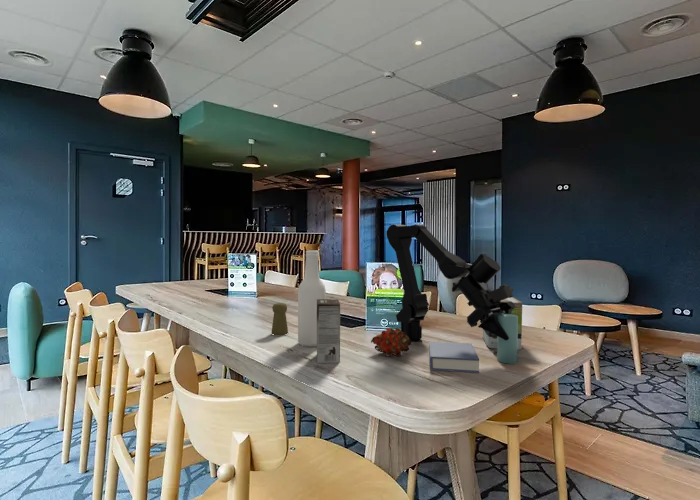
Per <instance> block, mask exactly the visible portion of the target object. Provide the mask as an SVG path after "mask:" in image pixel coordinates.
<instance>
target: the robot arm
mask: <svg viewBox="0 0 700 500" xmlns="http://www.w3.org/2000/svg"><path fill="white" fill-rule="evenodd" d="M385 235H386V238H387V240H388V241H387V242H388V243H389V245H390V247H391V248H392V249H393V250H394V252H395V256H396V261H397V265H398V269H399V274H400V279H401V284H402V288H403V295H402V299H401V307H402V308H401V309H400V310H399V311H398V312H397V314H396V315H395V317H396V322H398V323H400V330H401V331H402V332H405V333H406V335H407V336H408V337H409V339H410V341H411V342H421V339H423V336H422V335H423V334H422V333H423V327H422V326H423V325H422V324H421V321H424V320H425V317H426V315H427V313H428V312H429V306H430V304H429V302H428V295H427V293H422V292H421V291H420V289H419V286H418V281H417V280H418V279H417V276H416V271H415V268H414V263H413V257H412V254H411V253H412V252H411V245H412V241H413V239H414V238H415V239H416V240H417V241H418V243H420V244H421V246H422V247H423V248H424V249H425V250H426V251H427V252H428V253H429V255H431V256H432V257H433V258H434V260H435V261H436V263H437V266H438V267H437V268H438V269H439V270H440V272H441V274H442V275H443V276H444V277H445V278H446V279H448V280H454V279H456V280H457V279H458V281H457V282H455V281H454V282H452V286H451V291H452V292H453V293H454V292H455V293H456V292H459V291H460V292H461V294H462V295H463V296H464V297H465V298H466V299H467V301H468V302H467V305H468V307H473V308H474V310H473V311H472V312H471V313H470V314H469V315H468V316H467V317H466V323H467V324H468V325H469V327H470V328H474V327H478V328H480V329H482V330H483V329H484V330H487V331H489V332H491V333H493V334H494V335H496V336H498V337H500V338H502V339H504V340H506V341H507V340H508V339H509V337H508V335H507V333H506V332H505V330H504V329H503V327H502V326H501V324H500V323H499V322H498V314H511V312H512V310H513V309H514V308H515V307H516V306H515V305H514V304H513V302H512V301H505V302H501V300H504V299H506V298H511V297H513V298H514V295H513V292H514V289H513V288H511V286H510V285H507V284H506V283H504V284H503V285H500V286H499V287H498V288H496V289H494V290H490V289H485V287H484V286H483V285H482V283H484V284H488V282H490V280H492V279H493V278H494V277H495V276H496V275H497V274H498V273H499V272H500V271H501V269H502V268H501V266H500V264H499V262H497V261H496V260H494V259H493V258H491V257H490V256H488V255H487V254H486V253H480V254H479V255H478V257H477V258H476V259H475V260H474V262H472V264H468V262H466V261H465V260H464V259H462V258H461V257H460V256H458V255H456V254H454V253H452V252H451V251H449V250H448V249H447V248H446V247H445V246H444V245H443V244H442V243H441V242H440V241H439V240H438V239H437V238H436V237H435V236H434V235H433V234H432V233H431V232H430V231H429V230H428V228H427V227H426V226H425V225H423V224H412V225H406V224H391V225H389V226H388V228H387V230H386V232H385ZM412 238H413V239H412ZM500 303H501V304H500ZM478 322H479V323H480V324H479V325H478Z"/></svg>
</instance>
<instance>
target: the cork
mask: <svg viewBox="0 0 700 500" xmlns="http://www.w3.org/2000/svg"><path fill="white" fill-rule="evenodd" d="M271 309H272V312H273V318H272V326H271V333H272V334H274V335H284V334H287V333H288V334H289V330H288V329H289V328H288V321H287V311H288V305H287V304H286V303H284V302H276V303H274V304H273V305H272V308H271Z"/></svg>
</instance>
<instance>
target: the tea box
mask: <svg viewBox="0 0 700 500" xmlns="http://www.w3.org/2000/svg"><path fill="white" fill-rule="evenodd" d="M505 301H512V302H513V304H514V305H515V306H516V307H515V308H514V309H513V310H512V312H511V314H512V315H517V316H518V351H519V350H522V341H523V340H522V338H523V337H522V335H523V334H522V333H523V332H522V330H523V328H522V327H523V302H522V301H520V300H518V299H517V298H515V297H514V296H513V297H511V298H506V299H504V300H501V302H505ZM500 304H501V303H500ZM482 339H483V340H484V341H485V343H486V344H485V345H486V346H487V347H488V349H497V336H496V335H494V334H493V333H491V332H489V331H487V330H484V329H482Z"/></svg>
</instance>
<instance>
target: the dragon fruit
mask: <svg viewBox="0 0 700 500" xmlns="http://www.w3.org/2000/svg"><path fill="white" fill-rule="evenodd" d="M372 343H373V344H374V345H375V346H374V349H375V350H376V351H377V352H379V353H383V354H384V353H386V354H385V355H386V356H387V357H391V356H392V355H394V356H395V357H398V356H399V357H401V355H402V353H408V352H409V351H410V350H411V348H410V346H411V344H412V341H410V339H409V337H408V336H407V335H406V333H405V332H402V331H401V328H399V327H395V329H393V328H390V327H386V328H385V330H382V331H381V333H380V334H377V335H376V336H374V337H372V338H371V339H370V344H372Z"/></svg>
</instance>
